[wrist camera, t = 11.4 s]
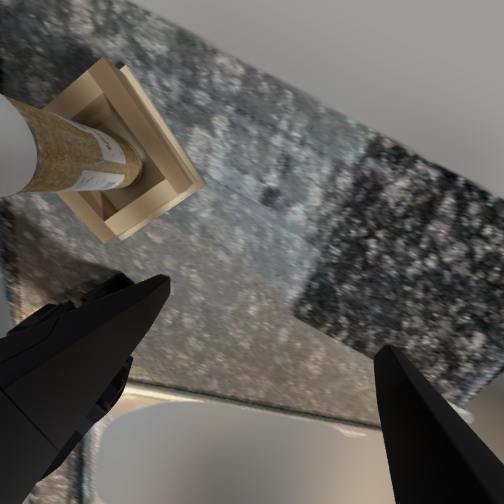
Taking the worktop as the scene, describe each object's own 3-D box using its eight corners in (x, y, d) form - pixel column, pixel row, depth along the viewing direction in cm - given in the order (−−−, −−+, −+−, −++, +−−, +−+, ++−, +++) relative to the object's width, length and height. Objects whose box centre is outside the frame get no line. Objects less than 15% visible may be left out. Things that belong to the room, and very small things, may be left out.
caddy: (126, 238, 23) (104, 250, 20) (42, 143, 20) (-4, 137, 16) (207, 184, 22) (199, 186, 18) (131, 70, 18) (103, 43, 14)
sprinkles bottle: (143, 141, 19) (-31, 56, 6) (145, 192, 21) (6, 206, 8) (89, 134, 19) (-217, 27, 6) (95, 187, 20) (-143, 193, 7)
